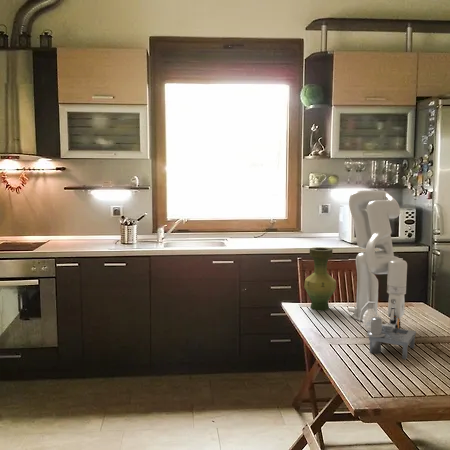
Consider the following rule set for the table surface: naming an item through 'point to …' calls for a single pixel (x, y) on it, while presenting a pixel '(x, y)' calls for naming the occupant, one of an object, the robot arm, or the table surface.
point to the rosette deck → (389, 336)
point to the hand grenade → (368, 315)
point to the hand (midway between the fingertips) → (394, 331)
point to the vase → (320, 280)
